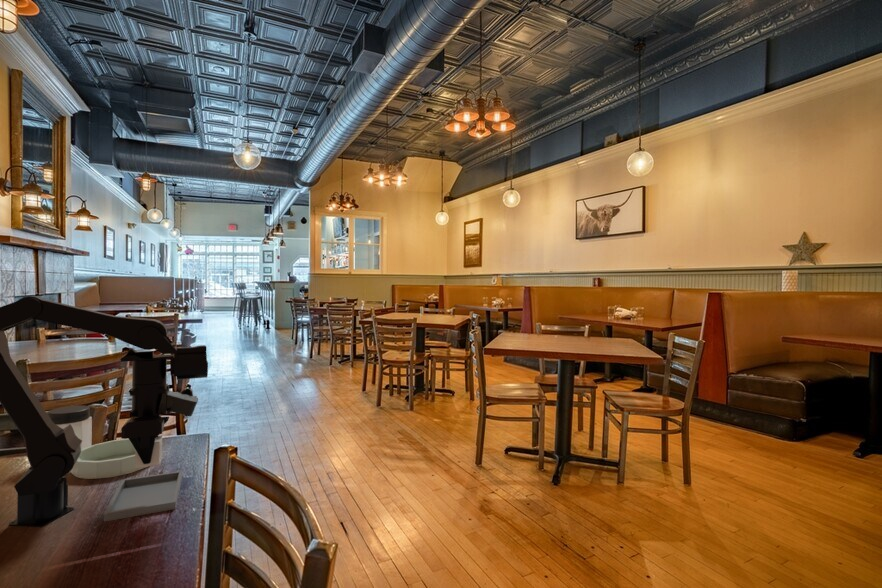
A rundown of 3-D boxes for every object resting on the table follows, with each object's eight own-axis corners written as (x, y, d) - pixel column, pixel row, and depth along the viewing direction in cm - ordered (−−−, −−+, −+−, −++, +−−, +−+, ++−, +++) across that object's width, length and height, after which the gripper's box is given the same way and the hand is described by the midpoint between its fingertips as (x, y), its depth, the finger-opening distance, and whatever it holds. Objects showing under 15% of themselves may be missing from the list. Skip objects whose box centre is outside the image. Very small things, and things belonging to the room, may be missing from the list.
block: (159, 464, 87) (159, 441, 87) (135, 468, 85) (135, 444, 85) (161, 457, 90) (162, 435, 90) (138, 461, 88) (138, 438, 88)
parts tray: (175, 510, 83) (175, 501, 83) (103, 523, 78) (103, 514, 78) (182, 478, 97) (182, 470, 97) (122, 487, 92) (122, 479, 92)
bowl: (122, 481, 95) (122, 463, 95) (53, 478, 96) (53, 460, 96) (171, 454, 111) (172, 439, 111) (112, 452, 112) (112, 437, 112)
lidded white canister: (44, 467, 102) (45, 416, 102) (43, 457, 108) (44, 409, 108) (93, 457, 109) (93, 409, 109) (89, 449, 115) (90, 403, 115)
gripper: (192, 387, 83) (191, 469, 83) (197, 371, 100) (197, 440, 99) (121, 392, 78) (120, 480, 78) (139, 375, 95) (138, 447, 95)
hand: (148, 459), depth 88 cm, fingers closed on block, 4 cm apart
